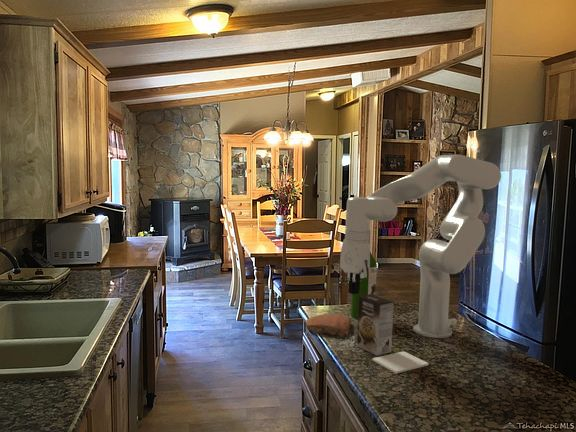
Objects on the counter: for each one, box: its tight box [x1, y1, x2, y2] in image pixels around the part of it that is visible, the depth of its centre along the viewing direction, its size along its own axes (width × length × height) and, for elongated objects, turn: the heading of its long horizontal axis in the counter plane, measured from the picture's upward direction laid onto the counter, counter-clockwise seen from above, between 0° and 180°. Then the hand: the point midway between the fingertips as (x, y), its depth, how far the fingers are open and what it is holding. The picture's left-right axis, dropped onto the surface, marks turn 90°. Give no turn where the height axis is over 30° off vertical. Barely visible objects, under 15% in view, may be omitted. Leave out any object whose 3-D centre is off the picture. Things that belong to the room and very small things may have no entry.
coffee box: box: [356, 294, 395, 357], centre depth 148 cm, size 9×6×16 cm
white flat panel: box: [372, 350, 429, 374], centre depth 138 cm, size 12×10×1 cm
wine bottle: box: [350, 229, 378, 320], centre depth 180 cm, size 9×9×32 cm
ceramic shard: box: [305, 313, 352, 338], centre depth 167 cm, size 15×6×15 cm
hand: (353, 293), depth 155 cm, fingers closed
